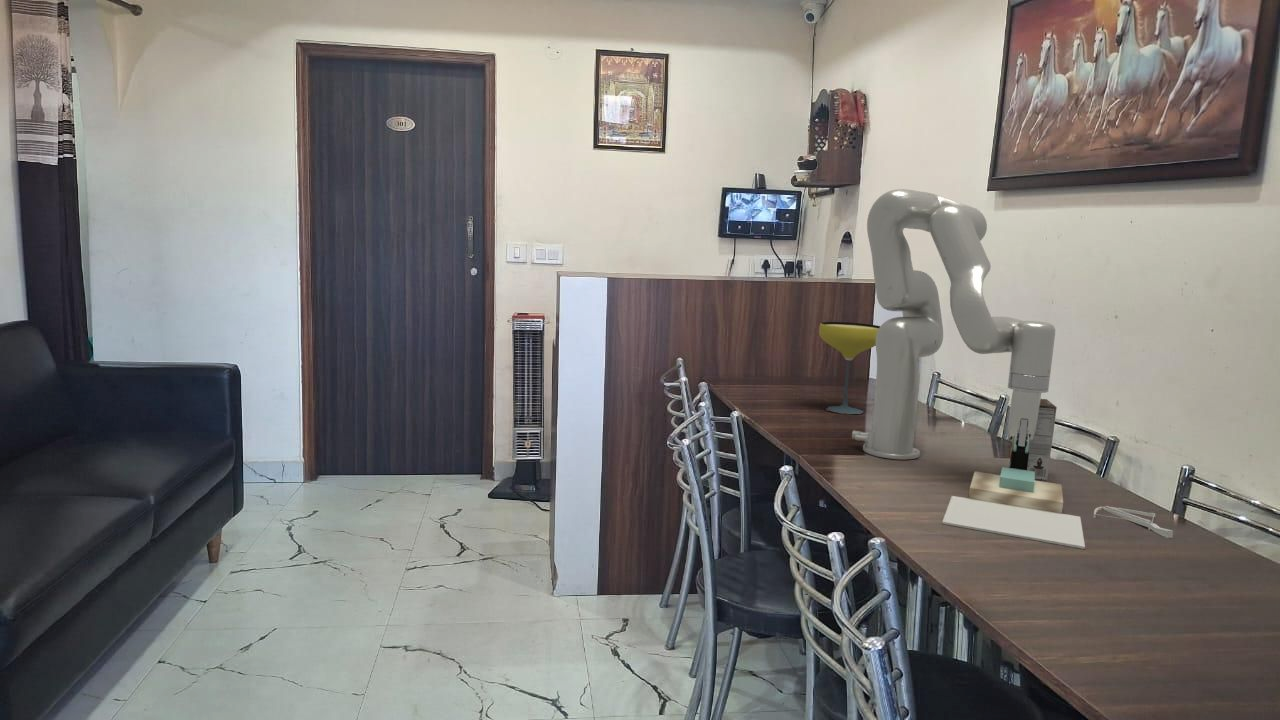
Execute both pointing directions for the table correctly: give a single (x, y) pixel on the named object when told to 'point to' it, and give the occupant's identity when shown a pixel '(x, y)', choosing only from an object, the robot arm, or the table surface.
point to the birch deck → (1017, 493)
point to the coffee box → (1041, 441)
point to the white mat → (1015, 521)
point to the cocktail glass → (848, 348)
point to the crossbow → (1136, 519)
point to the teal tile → (1017, 479)
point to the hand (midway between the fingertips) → (1018, 470)
